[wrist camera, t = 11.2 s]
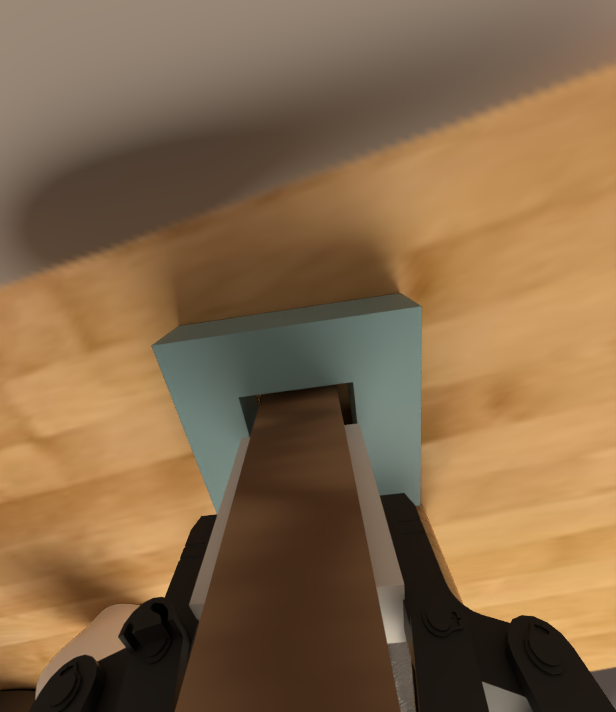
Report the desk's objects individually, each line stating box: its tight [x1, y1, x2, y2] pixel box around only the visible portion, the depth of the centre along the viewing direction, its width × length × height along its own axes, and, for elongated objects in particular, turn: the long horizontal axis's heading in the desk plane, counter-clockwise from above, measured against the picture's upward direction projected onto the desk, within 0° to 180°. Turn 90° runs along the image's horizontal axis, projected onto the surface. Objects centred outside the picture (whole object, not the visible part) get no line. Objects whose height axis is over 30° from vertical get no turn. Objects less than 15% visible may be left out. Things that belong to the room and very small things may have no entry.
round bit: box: [388, 504, 463, 712], centre depth 17 cm, size 5×5×10 cm
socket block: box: [152, 293, 422, 514], centre depth 16 cm, size 12×12×3 cm
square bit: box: [175, 385, 401, 712], centre depth 10 cm, size 4×4×14 cm
